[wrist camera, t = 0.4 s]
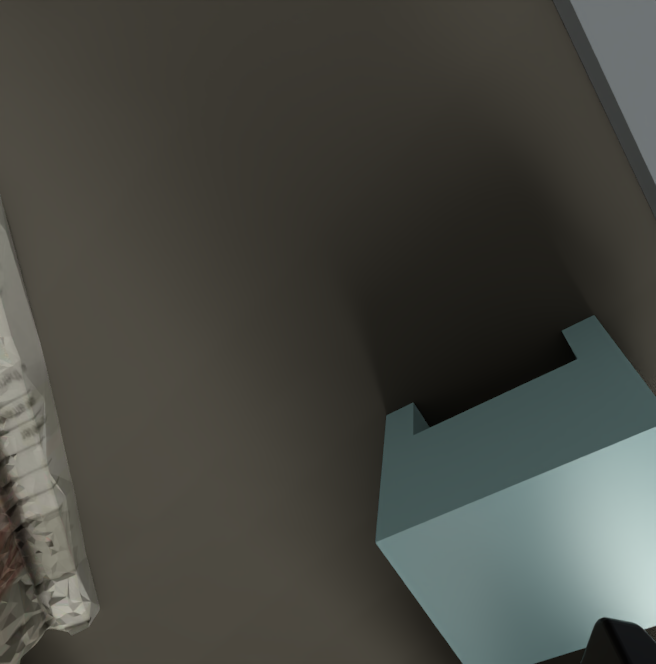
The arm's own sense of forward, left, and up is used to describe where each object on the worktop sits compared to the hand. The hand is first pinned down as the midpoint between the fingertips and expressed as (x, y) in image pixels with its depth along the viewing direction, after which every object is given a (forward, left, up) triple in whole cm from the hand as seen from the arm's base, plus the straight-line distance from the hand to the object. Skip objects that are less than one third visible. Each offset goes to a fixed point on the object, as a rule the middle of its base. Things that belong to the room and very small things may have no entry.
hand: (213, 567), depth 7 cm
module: (-7, -2, -12) cm, 14 cm away
